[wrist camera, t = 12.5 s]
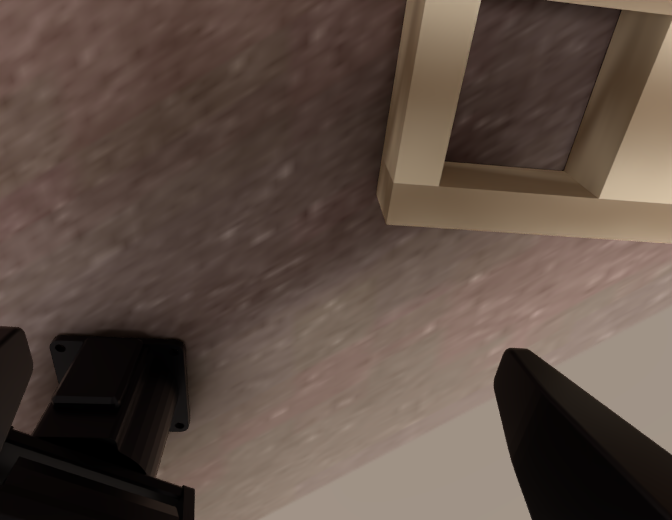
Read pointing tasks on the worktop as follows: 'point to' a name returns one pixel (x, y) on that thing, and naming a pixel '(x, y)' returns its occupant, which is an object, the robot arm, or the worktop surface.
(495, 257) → the worktop surface
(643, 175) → the socket board
